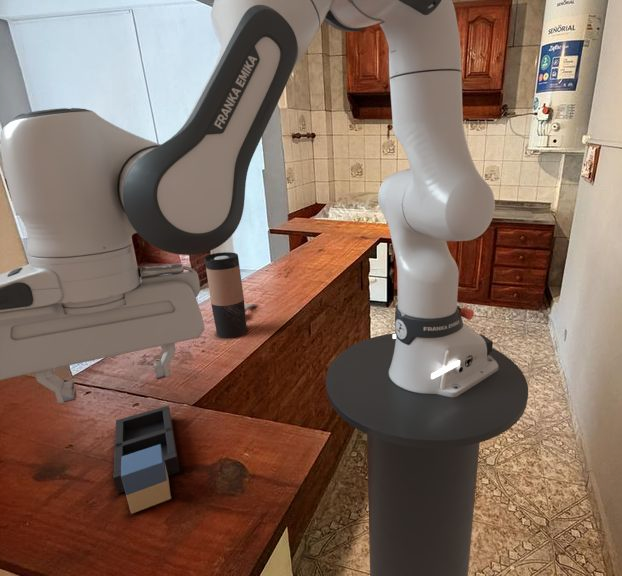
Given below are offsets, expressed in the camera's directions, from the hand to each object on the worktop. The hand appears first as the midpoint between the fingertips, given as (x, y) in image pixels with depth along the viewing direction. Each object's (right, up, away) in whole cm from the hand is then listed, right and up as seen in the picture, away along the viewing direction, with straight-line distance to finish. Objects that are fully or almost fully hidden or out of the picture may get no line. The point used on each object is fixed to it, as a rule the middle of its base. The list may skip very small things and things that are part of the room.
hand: (118, 387), depth 47 cm
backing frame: (-5, -13, +14) cm, 20 cm away
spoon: (-8, +4, +66) cm, 67 cm away
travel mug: (-8, 0, +54) cm, 55 cm away
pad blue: (0, -13, +5) cm, 14 cm away
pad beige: (0, -16, +6) cm, 17 cm away
